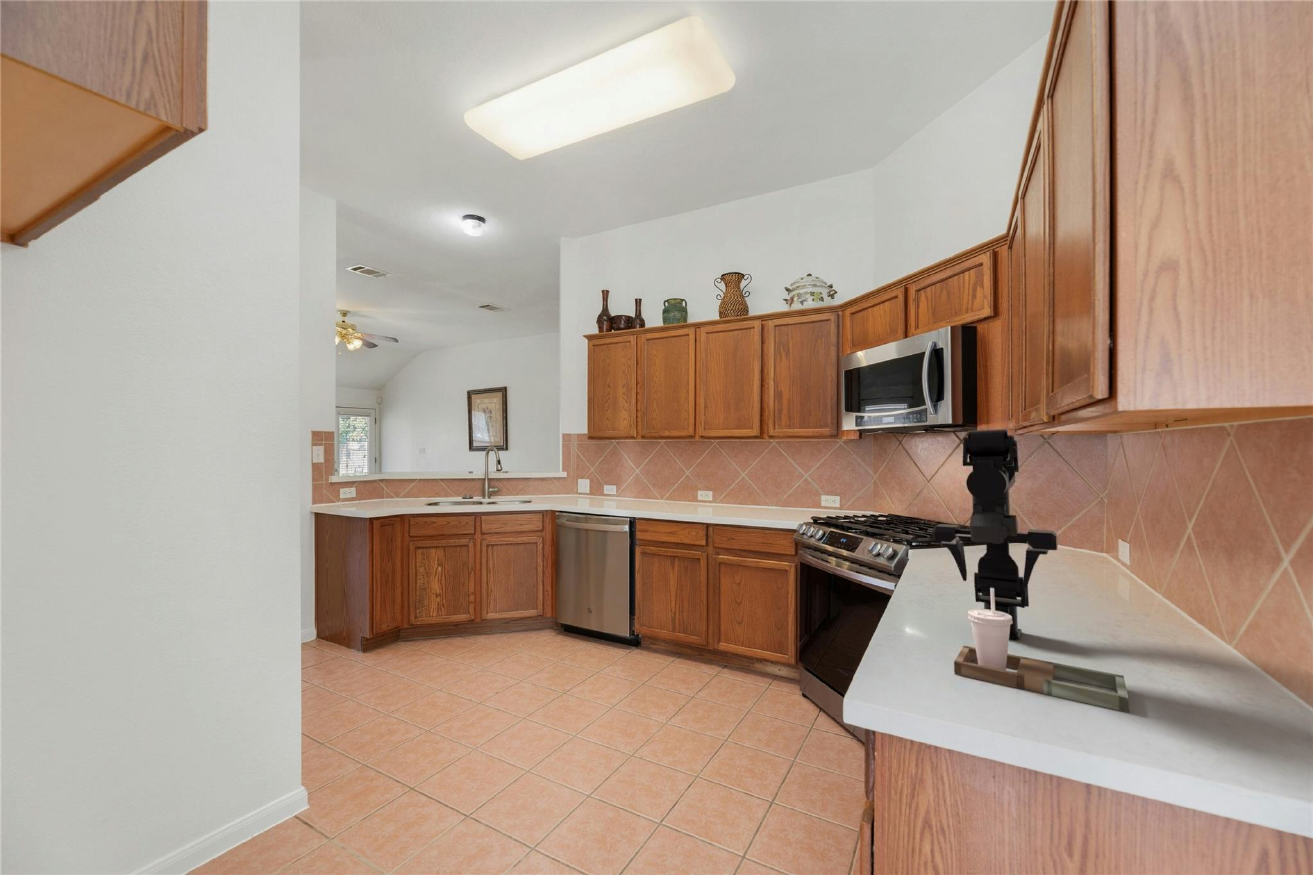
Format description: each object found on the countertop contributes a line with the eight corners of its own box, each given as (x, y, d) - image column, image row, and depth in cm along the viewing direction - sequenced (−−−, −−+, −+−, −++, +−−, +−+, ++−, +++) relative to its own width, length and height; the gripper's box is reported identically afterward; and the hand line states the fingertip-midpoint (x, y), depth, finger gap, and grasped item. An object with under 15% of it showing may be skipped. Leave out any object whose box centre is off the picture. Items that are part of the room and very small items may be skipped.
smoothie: (1022, 681, 83) (1018, 593, 83) (979, 678, 84) (975, 592, 85) (1004, 665, 89) (1000, 584, 90) (964, 663, 90) (960, 583, 91)
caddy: (964, 656, 93) (963, 645, 93) (1124, 688, 80) (1123, 675, 80) (954, 673, 86) (954, 661, 86) (1129, 712, 72) (1128, 697, 72)
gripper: (924, 498, 94) (927, 584, 93) (1053, 502, 82) (1058, 601, 81) (937, 495, 102) (940, 574, 101) (1055, 498, 90) (1060, 588, 89)
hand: (994, 584), depth 93 cm, fingers open, 9 cm apart
